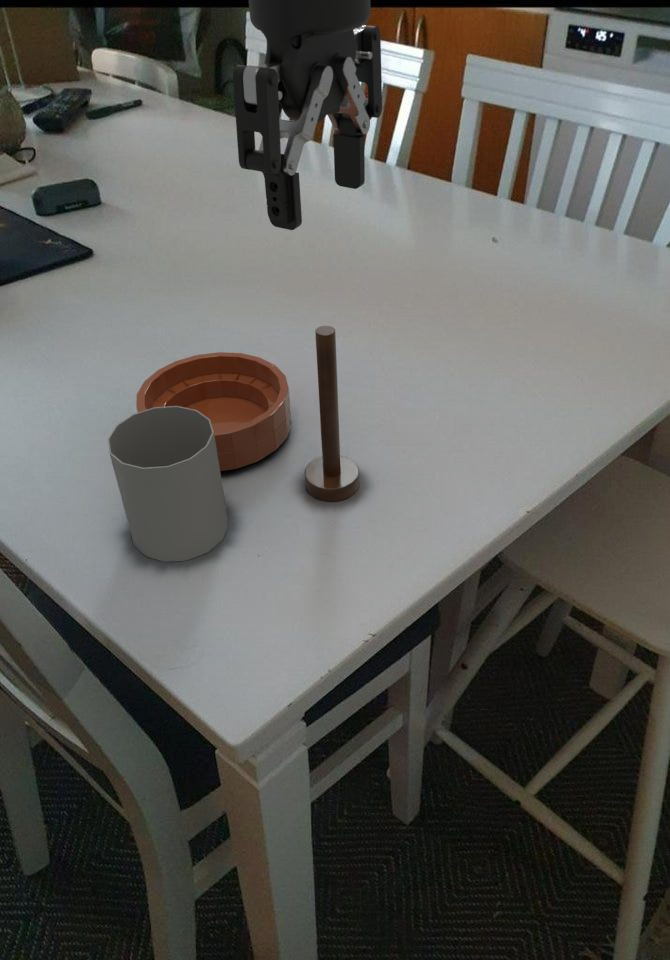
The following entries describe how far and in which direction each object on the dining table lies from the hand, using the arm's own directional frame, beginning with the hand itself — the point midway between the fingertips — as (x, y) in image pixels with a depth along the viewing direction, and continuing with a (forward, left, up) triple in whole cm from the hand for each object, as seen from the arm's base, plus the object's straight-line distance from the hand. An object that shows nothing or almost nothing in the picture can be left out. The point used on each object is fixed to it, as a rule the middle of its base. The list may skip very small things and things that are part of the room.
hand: (319, 205), depth 58 cm
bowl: (-6, +13, -26) cm, 30 cm away
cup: (-14, +2, -26) cm, 30 cm away
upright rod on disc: (0, 0, -26) cm, 26 cm away
